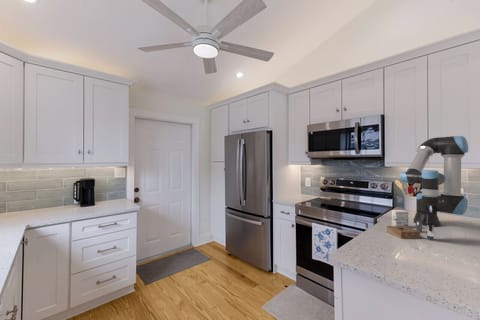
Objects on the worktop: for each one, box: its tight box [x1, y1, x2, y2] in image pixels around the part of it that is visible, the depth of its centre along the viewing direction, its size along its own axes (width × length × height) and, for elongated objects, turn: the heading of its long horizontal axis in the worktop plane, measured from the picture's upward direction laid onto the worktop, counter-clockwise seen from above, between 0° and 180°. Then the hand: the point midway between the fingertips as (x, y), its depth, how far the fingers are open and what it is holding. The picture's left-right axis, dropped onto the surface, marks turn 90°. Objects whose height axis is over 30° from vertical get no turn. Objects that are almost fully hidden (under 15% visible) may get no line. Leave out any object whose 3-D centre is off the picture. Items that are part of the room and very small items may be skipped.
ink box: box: [391, 209, 409, 227], centre depth 149 cm, size 9×5×12 cm, turn 84°
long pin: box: [426, 215, 435, 240], centre depth 125 cm, size 3×3×14 cm
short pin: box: [415, 221, 423, 234], centre depth 139 cm, size 3×3×7 cm
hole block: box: [386, 225, 421, 240], centre depth 132 cm, size 12×12×4 cm
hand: (430, 235), depth 125 cm, fingers closed on long pin, 3 cm apart
